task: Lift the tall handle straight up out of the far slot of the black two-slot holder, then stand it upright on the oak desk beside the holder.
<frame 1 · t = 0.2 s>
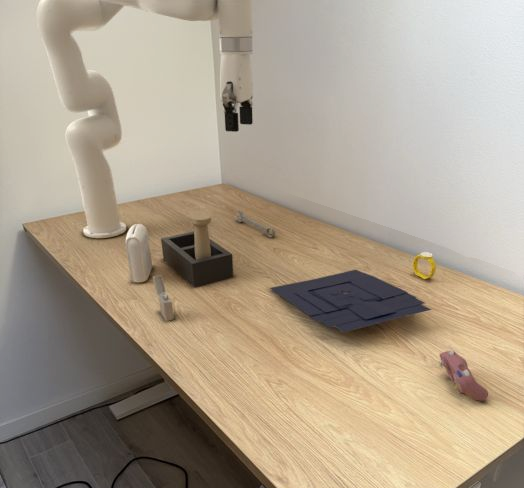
hand: (239, 127, 125), 31 cm above the table, tool pointing down, fingers open, 9 cm apart
papers: (346, 307, 113), on the table
combination wrench: (254, 229, 155), on the table
holder: (197, 268, 131), on the table
handle: (204, 274, 128), resting in holder
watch: (422, 277, 125), on the table
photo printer: (142, 275, 129), on the table
lighter: (165, 313, 112), on the table
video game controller: (459, 387, 88), on the table
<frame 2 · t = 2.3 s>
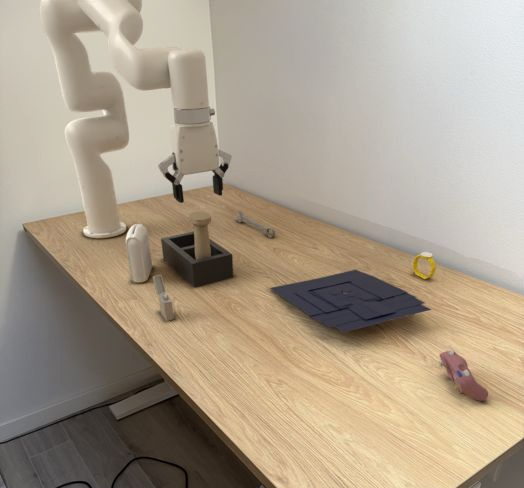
hand: (199, 197, 117), 19 cm above the table, tool pointing down, fingers open, 9 cm apart
nothing on the table moved.
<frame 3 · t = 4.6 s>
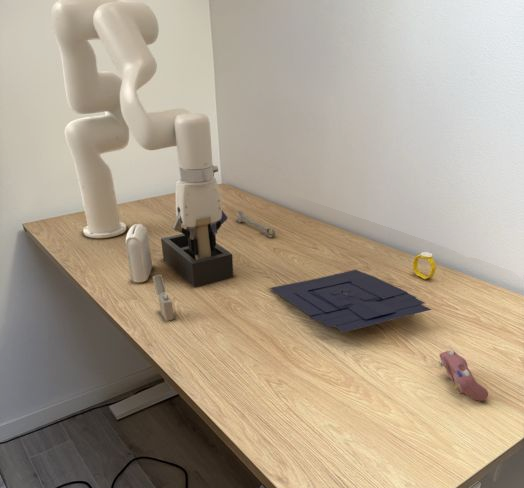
hand: (202, 250, 125), 6 cm above the table, tool pointing down, fingers closed on handle, 3 cm apart
handle: (204, 274, 128), resting in holder, touching gripper
everything else where it was.
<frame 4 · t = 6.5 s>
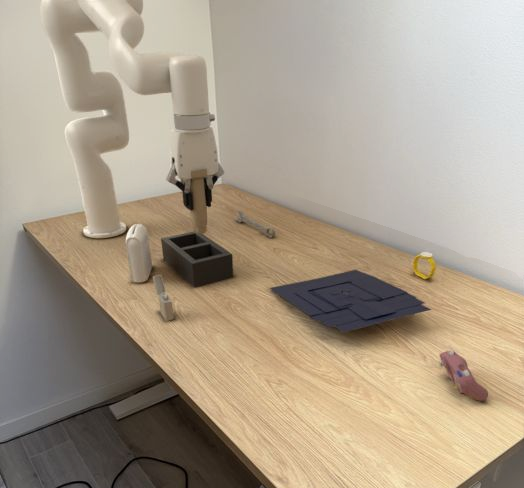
hand: (198, 206, 119), 17 cm above the table, tool pointing down, fingers closed on handle, 3 cm apart
handle: (200, 233, 123), point 11 cm above the table, touching gripper
everything else where it was.
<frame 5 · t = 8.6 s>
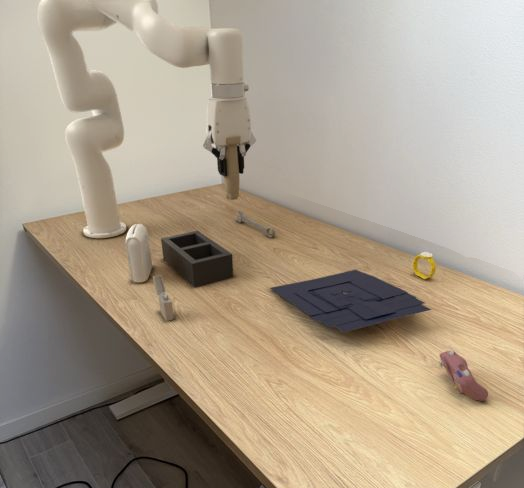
hand: (231, 173, 127), 21 cm above the table, tool pointing down, fingers closed on handle, 3 cm apart
handle: (232, 199, 130), point 15 cm above the table, touching gripper
everything else where it was.
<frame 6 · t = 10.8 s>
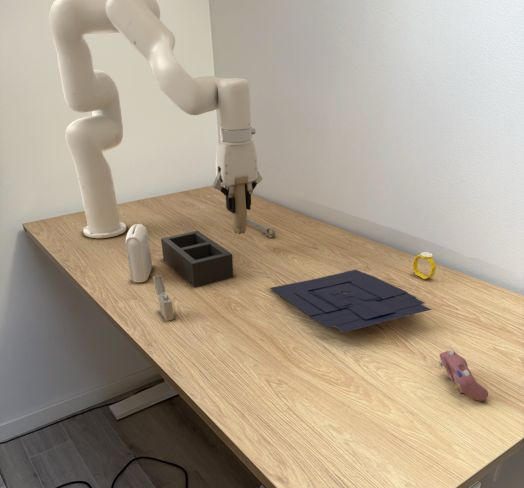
hand: (239, 209, 134), 12 cm above the table, tool pointing down, fingers closed on handle, 3 cm apart
handle: (240, 233, 138), point 5 cm above the table, touching gripper
everything else where it was.
when the fingers open (6 cm above the table, at t = 12.4 s): handle stays where it is, on the table.
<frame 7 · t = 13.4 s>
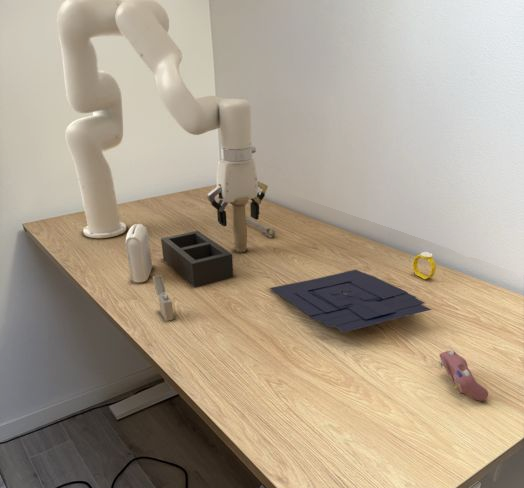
hand: (238, 221, 136), 8 cm above the table, tool pointing down, fingers open, 9 cm apart
handle: (240, 251, 141), on the table
everything else where it was.
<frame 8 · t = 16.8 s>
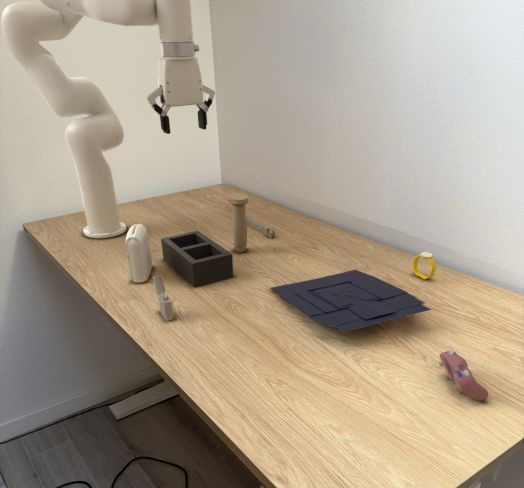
hand: (185, 130, 127), 30 cm above the table, tool pointing down, fingers open, 9 cm apart
nothing on the table moved.
at the end: handle inside the target area (0.0 cm from its centre), on the table; handle tilted 0°; the gripper is holding nothing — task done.
